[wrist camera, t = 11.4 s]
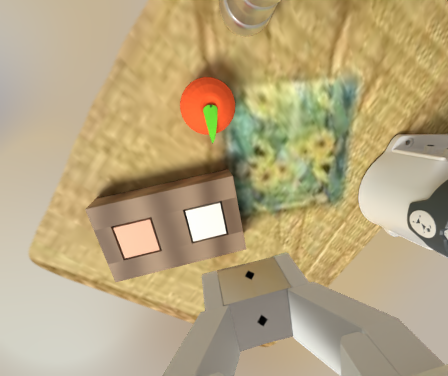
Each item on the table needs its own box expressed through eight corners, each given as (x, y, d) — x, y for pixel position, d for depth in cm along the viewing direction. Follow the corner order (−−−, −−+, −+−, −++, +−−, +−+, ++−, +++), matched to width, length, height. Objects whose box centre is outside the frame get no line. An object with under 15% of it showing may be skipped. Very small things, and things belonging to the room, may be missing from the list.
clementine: (232, 136, 36) (243, 143, 29) (185, 142, 35) (185, 150, 29) (227, 77, 33) (238, 70, 27) (177, 82, 33) (174, 75, 26)
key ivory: (217, 196, 37) (219, 203, 35) (223, 224, 39) (226, 233, 36) (185, 203, 37) (185, 211, 34) (192, 232, 38) (193, 241, 36)
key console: (228, 169, 37) (232, 175, 34) (240, 236, 41) (246, 249, 38) (95, 198, 36) (85, 209, 32) (122, 265, 40) (115, 282, 36)
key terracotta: (152, 211, 36) (149, 219, 34) (161, 240, 38) (159, 249, 35) (118, 219, 36) (113, 228, 33) (129, 247, 38) (125, 258, 35)
